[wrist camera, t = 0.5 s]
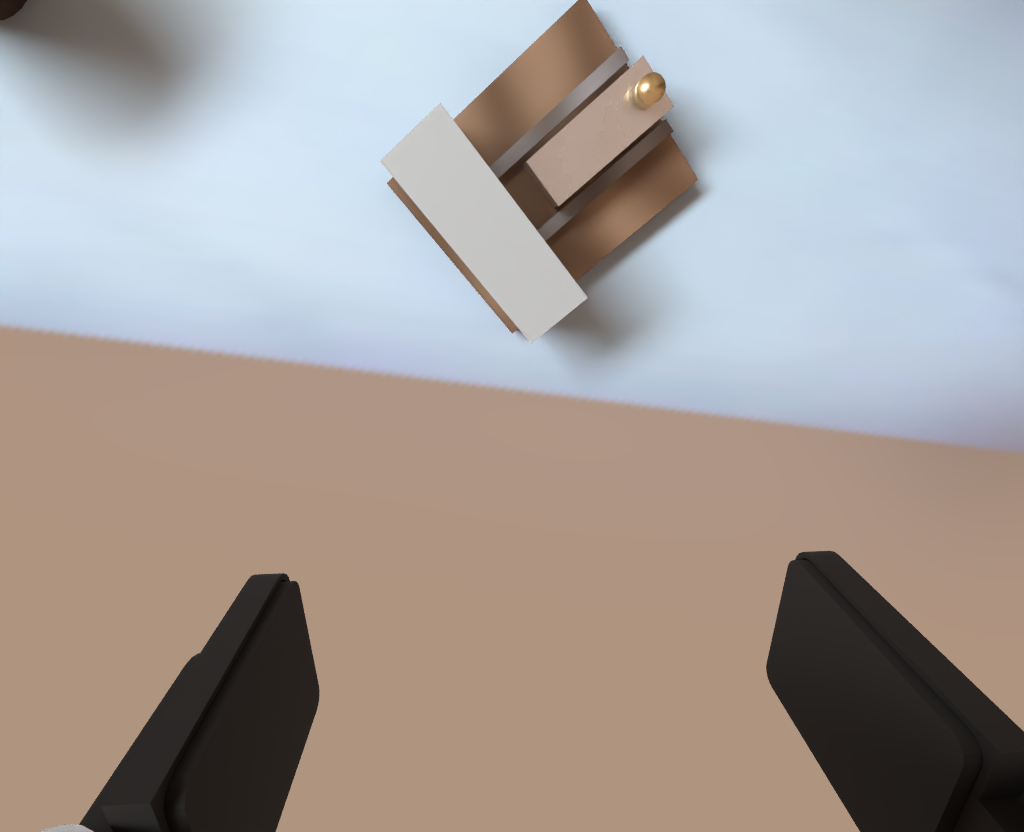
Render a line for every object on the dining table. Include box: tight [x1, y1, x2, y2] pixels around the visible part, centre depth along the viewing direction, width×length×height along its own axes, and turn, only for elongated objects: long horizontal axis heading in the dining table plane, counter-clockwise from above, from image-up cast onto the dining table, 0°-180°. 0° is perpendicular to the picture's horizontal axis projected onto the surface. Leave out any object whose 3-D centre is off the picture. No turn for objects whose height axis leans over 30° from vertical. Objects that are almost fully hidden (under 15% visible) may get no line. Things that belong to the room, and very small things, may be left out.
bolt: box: [523, 56, 674, 207], centre depth 29 cm, size 8×3×4 cm, turn 130°
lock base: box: [387, 0, 698, 333], centre depth 32 cm, size 15×12×2 cm
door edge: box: [380, 103, 588, 344], centre depth 30 cm, size 4×12×6 cm, turn 39°
